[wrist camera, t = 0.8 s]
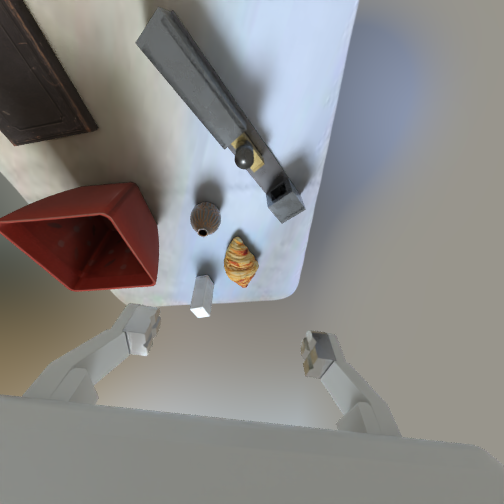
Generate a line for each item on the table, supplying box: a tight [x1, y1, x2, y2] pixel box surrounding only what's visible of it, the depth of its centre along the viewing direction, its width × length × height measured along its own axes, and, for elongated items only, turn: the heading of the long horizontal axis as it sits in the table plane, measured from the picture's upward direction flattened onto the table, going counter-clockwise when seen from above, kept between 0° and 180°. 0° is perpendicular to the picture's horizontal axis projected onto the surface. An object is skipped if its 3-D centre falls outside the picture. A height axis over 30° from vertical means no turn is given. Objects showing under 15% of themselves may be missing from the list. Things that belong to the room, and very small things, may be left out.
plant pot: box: [0, 182, 159, 292], centre depth 45 cm, size 19×19×17 cm
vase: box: [190, 202, 221, 237], centre depth 48 cm, size 7×7×9 cm
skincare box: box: [190, 275, 214, 318], centre depth 67 cm, size 6×4×12 cm
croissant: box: [224, 237, 259, 288], centre depth 63 cm, size 21×10×8 cm, turn 5°
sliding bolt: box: [231, 133, 265, 172], centre depth 34 cm, size 22×3×7 cm, turn 38°
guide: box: [136, 7, 306, 223], centre depth 38 cm, size 36×6×6 cm, turn 38°
